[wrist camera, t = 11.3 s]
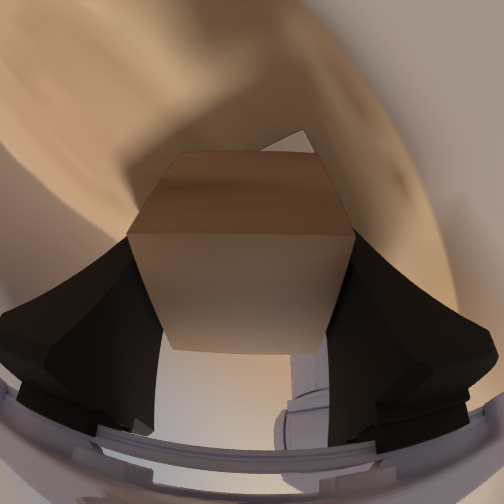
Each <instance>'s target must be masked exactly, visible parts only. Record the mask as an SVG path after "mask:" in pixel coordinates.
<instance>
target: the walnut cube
mask: <svg viewBox="0 0 504 504" xmlns="http://www.w3.org/2000/svg"><path fill="white" fill-rule="evenodd" d="M126 234H127V237H128V240H129V243H130V246H131V249H132V252H133V255H134V258H135V261H136V263H137V266H138V269H139V272H140V274H141V277H142V279H143V282H144V285H145V287H146V290H147V292H148V295H149V297H150V300H151V302H152V304H153V307H154V309H155V312H156V314H157V316H158V319H159V321H160V323H161V325H162V328H163V330H164V332H165V334H166V336H167V339H168V341H169V343H170V345H171V347H172V349H175V350H186V351H197V352H213V353H230V354H264V355H266V354H268V355H273V354H274V355H291V354H317V353H318V351H319V348H320V345H321V343H322V340H323V338H324V335H325V332H326V330H327V327H328V324H329V321H330V318H331V316H332V313H333V310H334V307H335V304H336V301H337V298H338V295H339V292H340V289H341V286H342V283H343V279H344V276H345V273H346V270H347V266H348V263H349V259H350V256H351V253H352V249H353V245H354V242H355V238H356V235H355V233H354V231H353V228H352V226H351V224H350V221H349V219H348V217H347V214H346V212H345V210H344V208H343V205H342V203H341V201H340V199H339V197H338V194H337V192H336V190H335V188H334V186H333V184H332V182H331V180H330V178H329V175H328V173H327V171H326V169H325V167H324V165H323V163H322V161H321V159H320V158H319V156H318V154H317V153H308V152H288V151H206V152H186V153H180V154H179V155H178V157H177V158H176V159H175V161H174V162H173V163H172V165H171V166H170V168H169V169H168V170H167V172H166V173H165V175H164V176H163V178H162V179H161V180H160V182H159V183H158V185H157V186H156V188H155V189H154V191H153V192H152V194H151V195H150V197H149V198H148V200H147V201H146V203H145V204H144V206H143V207H142V209H141V210H140V212H139V214H138V215H137V217H136V218H135V220H134V222H133V223H132V225H131V227H130V228H129V230H128V232H127V233H126Z"/></svg>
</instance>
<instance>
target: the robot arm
mask: <svg viewBox="0 0 504 504" xmlns="http://www.w3.org/2000/svg"><path fill="white" fill-rule="evenodd" d="M352 228H353V227H352ZM353 231H354V233H355V235H356V238H355V242H354V245H353V249H352V253H351V256H350V259H349V263H348V266H347V270H346V273H345V276H344V279H343V283H342V286H341V289H340V292H339V295H338V298H337V301H336V304H335V307H334V310H333V313H332V316H331V318H330V321H329V324H328V327H327V330H326V332H325V335H324V338H323V340H322V343H321V345H320V348H319V351H318V353H317V354H291V355H290V363H291V383H292V384H291V385H292V400H289V401H287V409H284V410H282V411H281V412H280V414H279V416H278V417H277V419H276V421H275V426H274V446H275V450H274V451H262V450H234V449H220V448H209V447H200V446H192V445H185V444H179V443H172V442H167V441H162V440H156V439H152V438H147V437H143V436H148V435H150V434H151V433H152V432H153V431H154V402H155V388H156V376H157V368H158V359H159V352H160V346H161V340H162V334H163V328H162V325H161V323H160V321H159V319H158V316H157V314H156V312H155V309H154V307H153V304H152V302H151V300H150V297H149V295H148V292H147V290H146V287H145V285H144V282H143V279H142V277H141V274H140V272H139V269H138V266H137V263H136V261H135V258H134V255H133V252H132V249H131V246H130V243H129V240H128V237H127V236H126V237H125V238H124V239H122V240H121V241H120V242H119V243H117V244H116V245H115V246H114V247H112V248H111V249H110V250H109V251H108V252H107V253H105V254H104V255H103V256H101V257H100V258H99V259H97V260H96V261H95V262H93V263H92V264H90V265H89V266H87V267H86V268H85V269H84V270H82V271H80V272H79V273H77V274H76V275H74V276H72V277H71V278H69V279H68V280H66V281H64V282H63V283H61V284H60V285H58V286H57V287H55V288H53V289H51V290H50V291H48V292H46V293H45V294H43V295H40V296H39V297H37V298H35V299H33V300H31V301H29V302H27V303H25V304H22V305H20V306H18V307H16V308H14V309H12V310H9V311H7V312H5V313H3V314H2V315H1V316H0V363H1V364H2V365H3V366H4V367H5V368H6V369H8V370H9V371H10V372H11V373H12V374H14V375H15V376H16V377H17V378H18V379H19V380H21V381H22V384H21V386H20V390H19V391H18V390H16V389H14V388H12V387H10V386H9V385H7V383H6V382H4V381H3V380H2V379H1V378H0V458H1V459H2V460H3V461H4V462H5V463H6V464H7V465H8V466H9V467H10V468H11V469H12V470H13V471H14V472H15V473H16V474H17V475H18V476H19V477H20V478H21V479H23V480H24V481H25V482H26V483H27V484H28V485H29V486H31V487H32V488H33V489H34V490H35V491H36V492H38V493H39V494H40V495H41V496H43V497H44V498H45V499H46V500H48V501H49V502H50V503H52V504H456V503H457V502H459V501H460V500H462V499H463V498H465V497H466V496H467V495H469V494H470V493H471V492H473V491H474V490H475V489H477V488H478V487H479V486H481V485H482V484H483V483H484V482H486V481H487V480H488V479H489V478H490V477H492V476H493V475H494V474H495V473H496V472H497V471H499V470H500V469H501V468H502V467H503V466H504V392H503V393H501V394H499V395H497V396H496V397H494V398H493V399H491V400H490V401H488V402H487V403H486V404H484V406H482V407H480V408H477V409H475V410H473V411H470V412H468V411H467V407H466V403H465V402H467V401H468V400H469V399H470V394H469V391H468V388H469V387H471V386H472V385H474V384H475V383H476V382H477V381H479V380H480V379H481V378H482V377H483V376H484V375H486V374H487V373H488V372H489V371H490V370H491V369H492V368H493V367H494V365H495V364H496V362H497V360H498V357H499V355H498V353H497V350H496V347H495V345H494V342H493V340H492V337H491V335H490V332H489V331H488V330H487V329H485V328H483V327H481V326H479V325H478V324H476V323H474V322H472V321H470V320H468V319H466V318H464V317H463V316H461V315H459V314H458V313H456V312H455V311H453V310H451V309H450V308H448V307H446V306H445V305H443V304H442V303H440V302H439V301H437V300H436V299H434V298H433V297H432V296H430V295H429V294H427V293H426V292H425V291H423V290H422V289H420V288H419V287H418V286H416V285H415V284H414V283H413V282H411V281H410V280H409V279H408V278H406V277H405V276H404V275H403V274H401V273H400V272H399V271H398V270H397V269H395V268H394V267H393V266H392V265H391V264H390V263H389V262H387V261H386V260H385V259H384V258H383V257H382V256H381V255H380V254H379V253H378V252H377V251H376V250H375V249H374V248H373V247H372V246H371V245H370V244H369V243H367V242H366V241H365V240H364V238H363V237H362V236H361V235H360V234H359V233H358V232H357V231H356V230H355V229H354V228H353ZM123 431H125V432H123ZM126 432H129V433H126ZM130 433H134V434H138V435H143V436H138V435H134V434H130ZM99 446H100V447H104V448H107V449H110V450H113V451H116V452H119V453H123V454H126V455H130V456H133V457H138V458H141V459H145V460H149V461H154V462H159V463H163V464H169V465H174V466H180V467H186V468H193V469H200V470H208V471H218V472H231V473H249V474H281V476H282V477H283V481H284V482H286V483H287V484H289V485H290V486H292V487H294V488H296V489H297V490H299V491H301V492H303V493H299V494H237V493H223V492H212V491H203V490H195V489H188V488H182V487H176V486H170V485H165V484H160V483H155V482H153V481H152V480H153V470H152V469H149V468H145V467H142V466H138V465H135V464H131V463H128V462H126V461H122V460H119V459H116V458H113V457H110V456H107V455H105V454H104V453H103V451H102V449H101V448H100V447H99Z"/></svg>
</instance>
